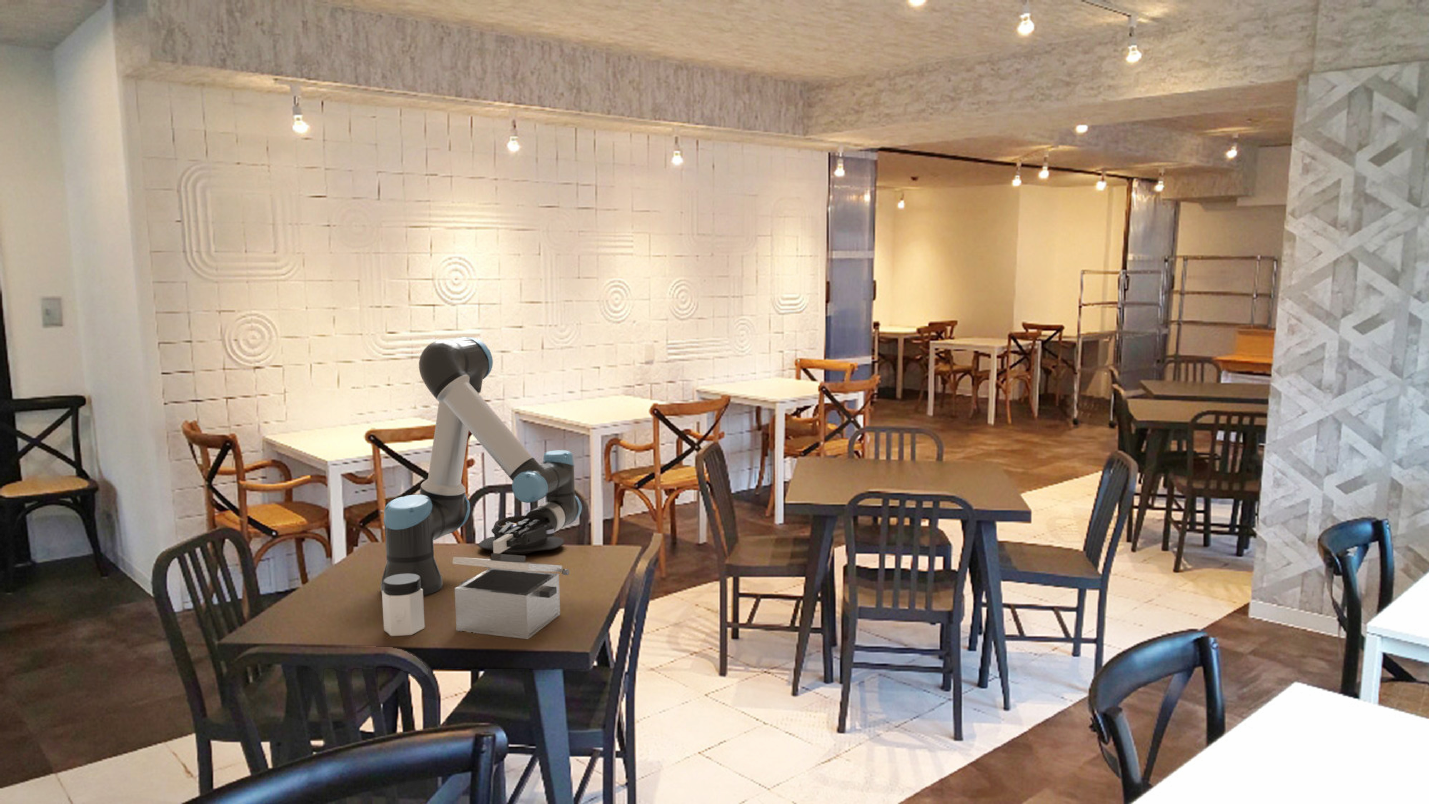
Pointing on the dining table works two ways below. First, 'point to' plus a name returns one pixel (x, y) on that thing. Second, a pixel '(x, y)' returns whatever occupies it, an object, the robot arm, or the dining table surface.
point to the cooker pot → (507, 602)
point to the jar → (403, 604)
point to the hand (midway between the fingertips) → (496, 547)
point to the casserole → (541, 544)
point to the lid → (507, 563)
